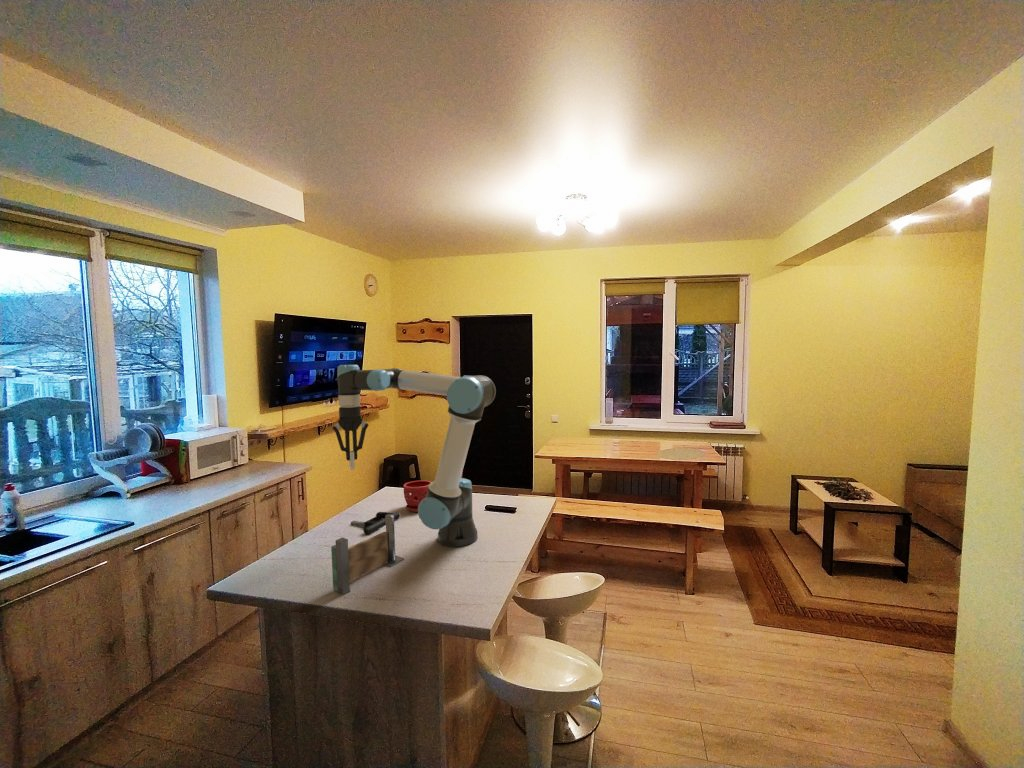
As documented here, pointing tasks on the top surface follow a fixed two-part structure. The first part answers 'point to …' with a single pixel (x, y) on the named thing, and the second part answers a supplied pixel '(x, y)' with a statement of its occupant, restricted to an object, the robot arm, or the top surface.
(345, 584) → the post
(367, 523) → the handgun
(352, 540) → the top surface
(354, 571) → the wooden board
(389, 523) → the hinge post
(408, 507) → the plant pot
